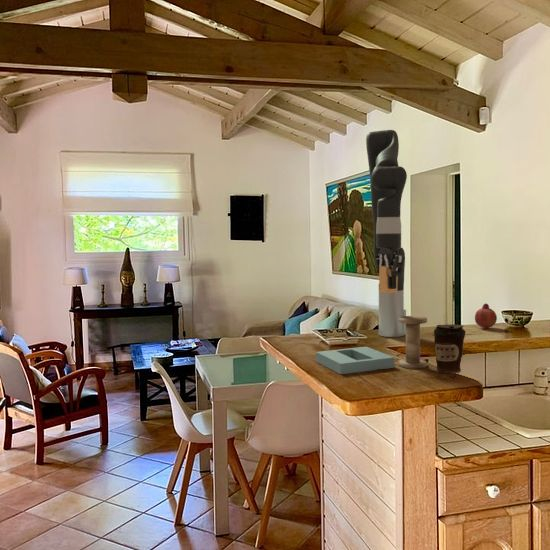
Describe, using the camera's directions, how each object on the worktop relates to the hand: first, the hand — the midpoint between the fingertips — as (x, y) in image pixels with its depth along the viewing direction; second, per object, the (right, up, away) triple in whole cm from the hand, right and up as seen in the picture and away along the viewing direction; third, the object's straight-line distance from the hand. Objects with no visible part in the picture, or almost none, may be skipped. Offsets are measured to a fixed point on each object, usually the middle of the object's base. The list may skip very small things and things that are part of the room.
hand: (388, 287), depth 166 cm
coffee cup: (+14, -23, -16) cm, 31 cm away
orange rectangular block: (0, -1, 0) cm, 1 cm away
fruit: (+48, -17, +46) cm, 69 cm away
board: (-11, -23, -6) cm, 26 cm away
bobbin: (+5, -23, -8) cm, 25 cm away
